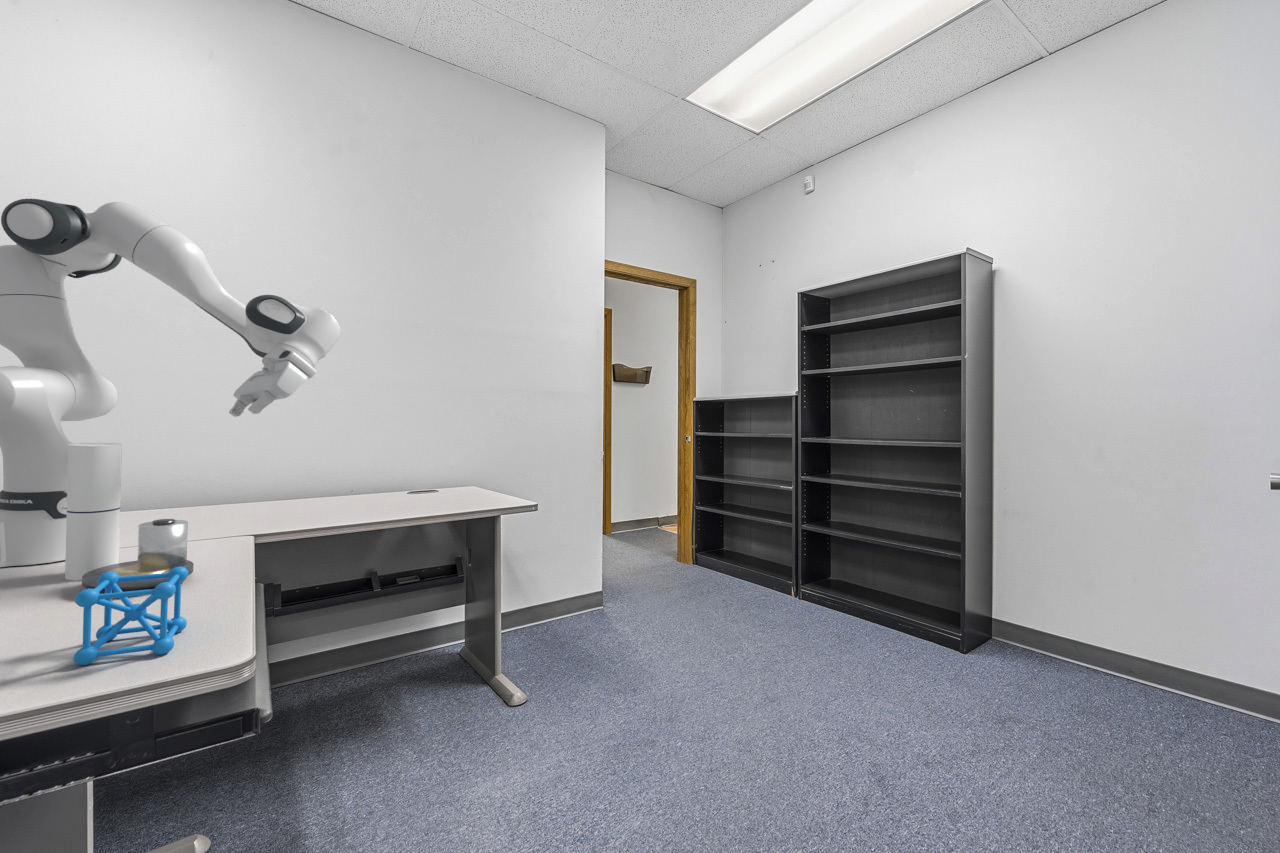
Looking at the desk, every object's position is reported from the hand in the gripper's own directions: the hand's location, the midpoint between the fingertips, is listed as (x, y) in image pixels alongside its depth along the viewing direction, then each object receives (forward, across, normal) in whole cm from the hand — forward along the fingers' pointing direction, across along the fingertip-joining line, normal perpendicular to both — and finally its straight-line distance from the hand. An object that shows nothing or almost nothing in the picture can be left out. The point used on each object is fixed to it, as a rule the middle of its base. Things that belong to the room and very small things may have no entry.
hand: (242, 413), depth 113 cm
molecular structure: (+43, +30, +3) cm, 52 cm away
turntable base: (+35, -1, +7) cm, 36 cm away
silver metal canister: (+31, -1, +8) cm, 32 cm away
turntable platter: (+34, -1, +6) cm, 35 cm away
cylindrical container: (+37, -13, +3) cm, 39 cm away
